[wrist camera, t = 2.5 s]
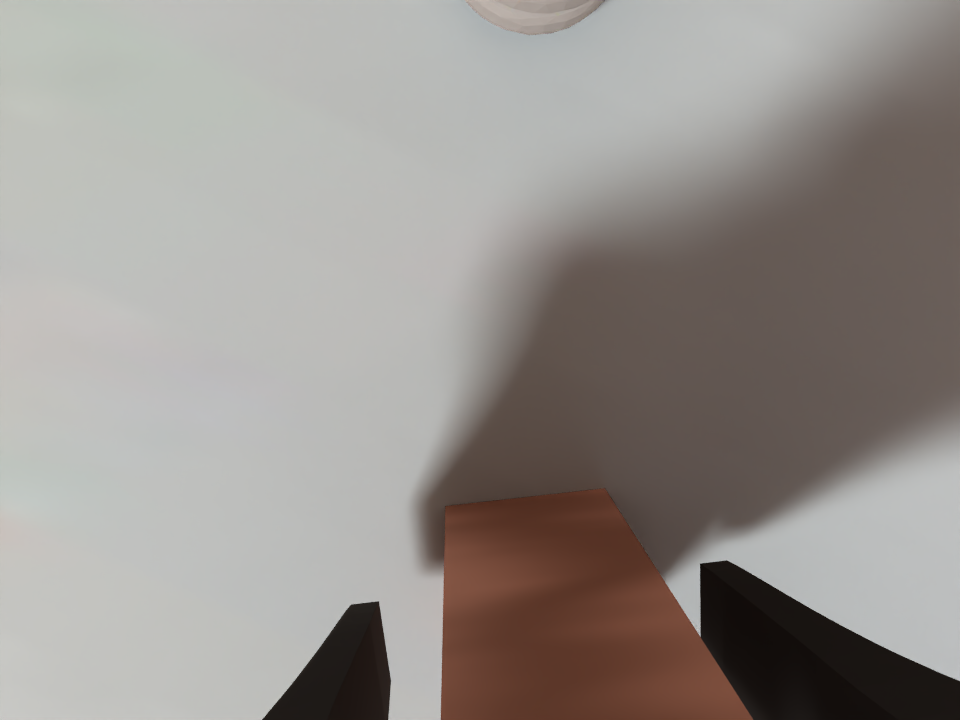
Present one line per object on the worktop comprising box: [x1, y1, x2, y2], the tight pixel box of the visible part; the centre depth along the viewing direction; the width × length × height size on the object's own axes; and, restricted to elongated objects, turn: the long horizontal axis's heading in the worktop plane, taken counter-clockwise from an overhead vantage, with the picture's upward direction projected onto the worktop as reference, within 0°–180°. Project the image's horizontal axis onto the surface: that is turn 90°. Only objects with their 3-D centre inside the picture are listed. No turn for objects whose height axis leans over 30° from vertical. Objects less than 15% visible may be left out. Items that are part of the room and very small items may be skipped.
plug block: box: [441, 488, 753, 720], centre depth 10 cm, size 4×4×7 cm
